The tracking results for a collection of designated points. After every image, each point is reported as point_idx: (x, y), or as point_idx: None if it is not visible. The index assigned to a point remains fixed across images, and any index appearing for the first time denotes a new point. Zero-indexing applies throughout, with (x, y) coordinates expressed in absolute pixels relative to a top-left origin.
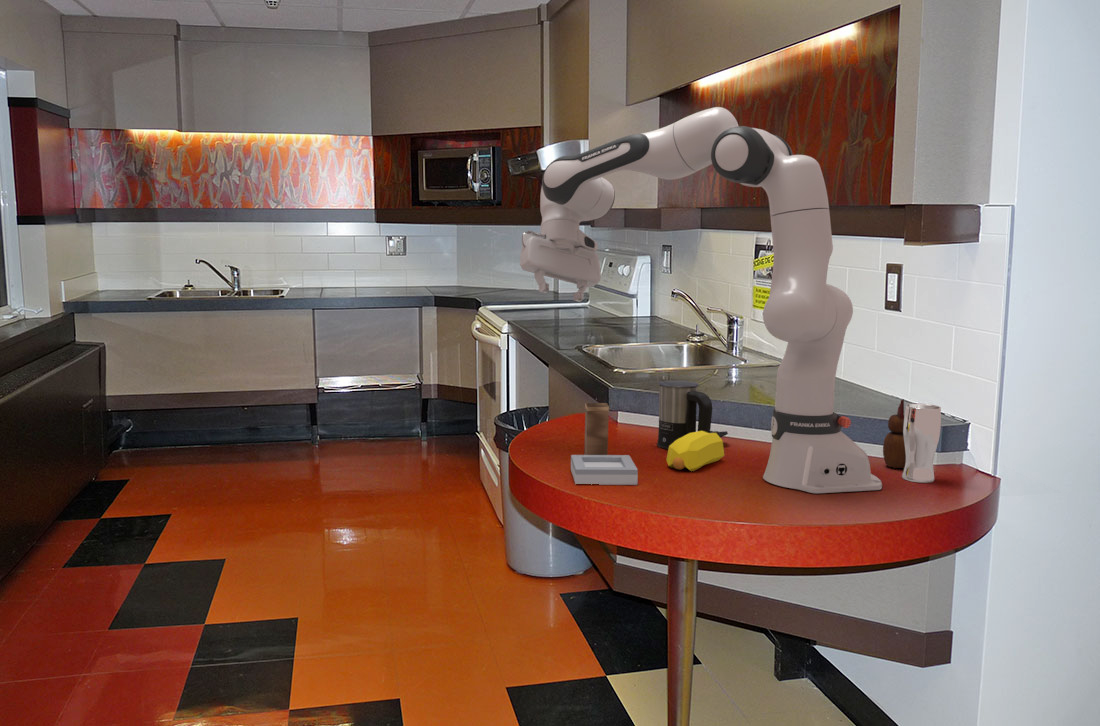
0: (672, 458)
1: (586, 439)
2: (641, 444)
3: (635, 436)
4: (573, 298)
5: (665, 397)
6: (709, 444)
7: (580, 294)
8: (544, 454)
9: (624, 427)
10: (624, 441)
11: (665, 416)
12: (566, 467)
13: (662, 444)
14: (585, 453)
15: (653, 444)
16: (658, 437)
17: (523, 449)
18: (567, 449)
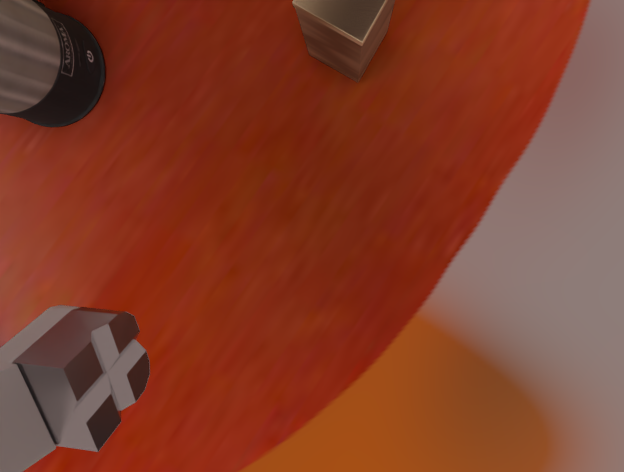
0: None
1: (388, 18)
2: (124, 138)
3: (79, 229)
4: (135, 401)
5: (8, 19)
6: None
7: (52, 340)
8: (432, 167)
9: None
10: (144, 192)
11: (49, 36)
12: (465, 11)
13: (98, 67)
14: (374, 50)
15: (95, 122)
16: (85, 92)
17: (449, 246)
18: (342, 187)
